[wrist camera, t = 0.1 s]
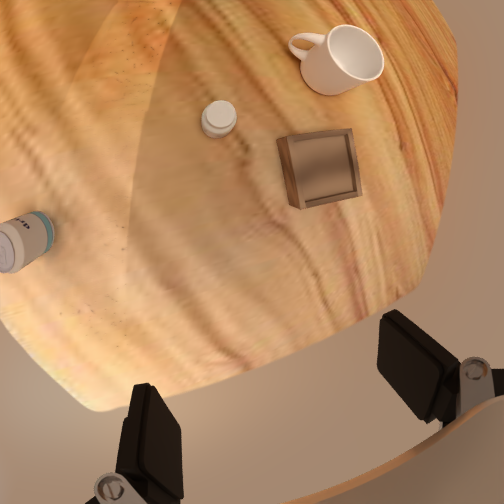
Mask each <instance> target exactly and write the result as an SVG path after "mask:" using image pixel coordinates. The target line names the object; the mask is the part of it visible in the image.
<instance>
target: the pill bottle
mask: <svg viewBox="0 0 504 504" xmlns="http://www.w3.org/2000/svg"><path fill="white" fill-rule="evenodd" d="M236 120H237V114H236V111H235V108H234V106H233V105H232V104H231V103H229V102H228V101H225V100H217V101H215V102H213V103H211V104H209V105H208V106H207V107H206V108H205V109H204V111H203V113H202V120H201V126H202V129H203V131H204V133H205V134H206V135H208V136H209V137H212V138H222V137H224V136H226V135H227V134H228V133H229V132H230V131H231V130H232V128H233V127H234V126H235V124H236Z"/></svg>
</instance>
